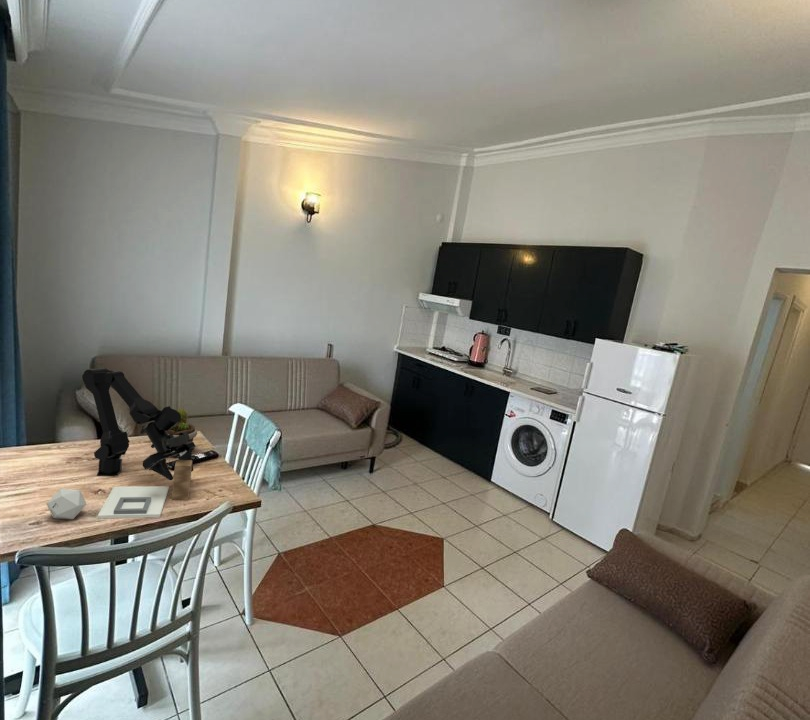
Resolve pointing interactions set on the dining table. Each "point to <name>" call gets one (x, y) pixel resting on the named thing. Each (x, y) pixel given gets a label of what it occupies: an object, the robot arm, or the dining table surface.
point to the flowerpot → (183, 427)
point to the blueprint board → (134, 502)
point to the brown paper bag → (182, 480)
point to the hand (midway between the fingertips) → (182, 475)
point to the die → (66, 504)
